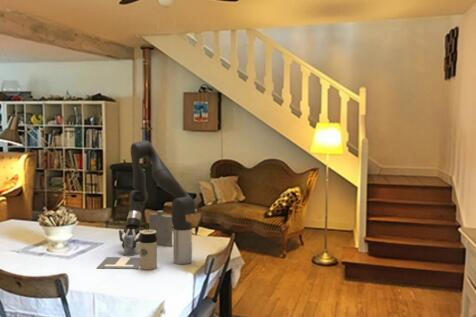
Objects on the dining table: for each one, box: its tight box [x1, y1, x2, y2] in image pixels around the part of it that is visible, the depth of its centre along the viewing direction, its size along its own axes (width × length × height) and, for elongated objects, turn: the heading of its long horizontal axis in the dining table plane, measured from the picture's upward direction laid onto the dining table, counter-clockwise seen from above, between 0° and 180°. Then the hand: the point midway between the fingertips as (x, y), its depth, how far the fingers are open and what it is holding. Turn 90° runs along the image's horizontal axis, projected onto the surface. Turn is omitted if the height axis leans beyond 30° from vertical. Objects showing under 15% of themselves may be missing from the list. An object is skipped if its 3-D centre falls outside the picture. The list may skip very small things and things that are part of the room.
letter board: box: [96, 256, 140, 270], centre depth 216 cm, size 20×17×1 cm
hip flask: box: [148, 210, 173, 247], centre depth 250 cm, size 16×4×20 cm, turn 61°
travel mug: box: [139, 229, 158, 271], centre depth 209 cm, size 8×8×18 cm
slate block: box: [123, 235, 136, 257], centre depth 230 cm, size 4×4×10 cm
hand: (128, 247), depth 229 cm, fingers closed on slate block, 4 cm apart
